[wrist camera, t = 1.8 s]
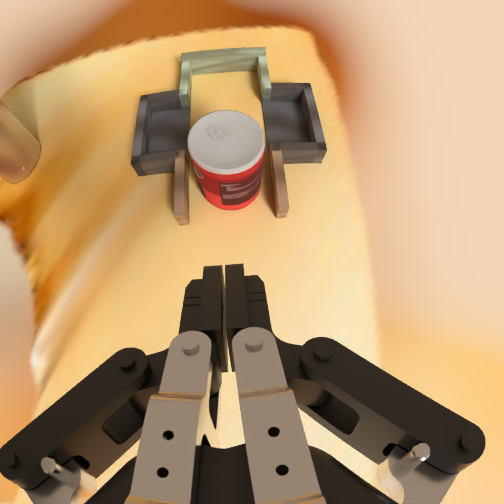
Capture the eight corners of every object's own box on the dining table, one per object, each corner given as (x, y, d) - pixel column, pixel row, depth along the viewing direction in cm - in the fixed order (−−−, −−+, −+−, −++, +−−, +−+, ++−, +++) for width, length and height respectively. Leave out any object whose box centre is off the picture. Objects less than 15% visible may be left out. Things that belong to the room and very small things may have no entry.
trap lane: (330, 215, 38) (340, 202, 34) (136, 229, 38) (123, 218, 33) (298, 66, 45) (301, 47, 40) (151, 76, 44) (146, 59, 39)
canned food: (215, 152, 40) (208, 101, 30) (269, 172, 40) (277, 123, 29) (190, 198, 39) (172, 155, 28) (246, 221, 38) (247, 183, 27)
